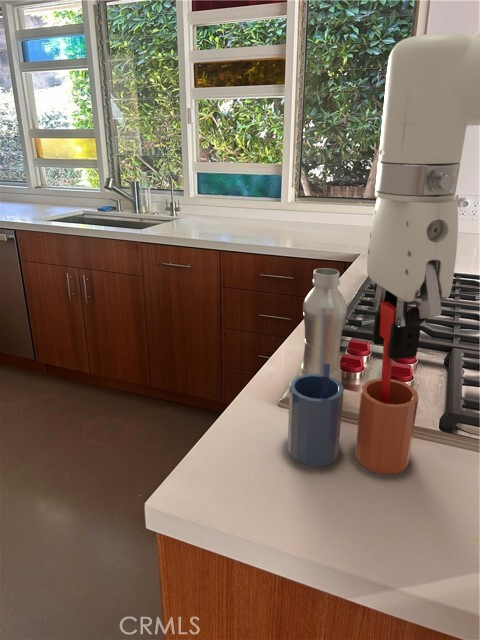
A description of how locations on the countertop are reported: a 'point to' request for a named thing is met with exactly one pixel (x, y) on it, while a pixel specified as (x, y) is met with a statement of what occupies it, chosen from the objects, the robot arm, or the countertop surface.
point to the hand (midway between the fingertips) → (393, 348)
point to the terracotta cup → (385, 427)
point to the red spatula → (386, 347)
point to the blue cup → (314, 420)
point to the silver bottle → (323, 324)
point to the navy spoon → (325, 381)
